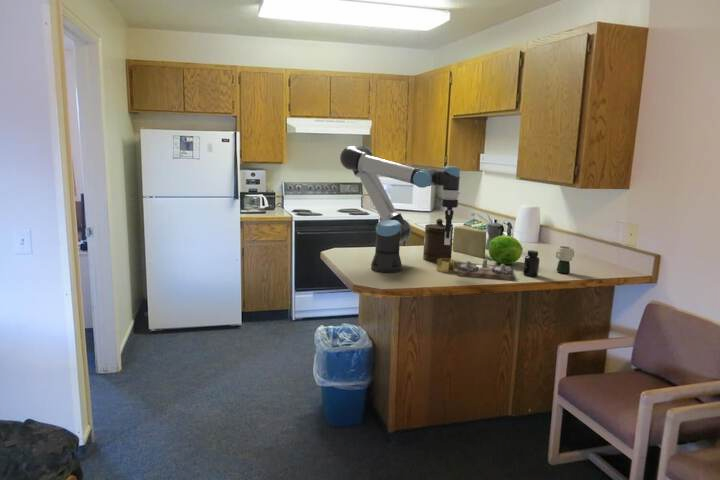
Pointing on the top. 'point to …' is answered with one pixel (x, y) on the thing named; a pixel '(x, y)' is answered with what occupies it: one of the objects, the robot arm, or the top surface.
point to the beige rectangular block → (469, 241)
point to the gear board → (485, 270)
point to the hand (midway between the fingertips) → (447, 242)
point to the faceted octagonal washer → (445, 265)
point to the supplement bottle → (531, 264)
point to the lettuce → (505, 249)
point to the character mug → (564, 258)
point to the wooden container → (436, 242)
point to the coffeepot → (494, 231)
